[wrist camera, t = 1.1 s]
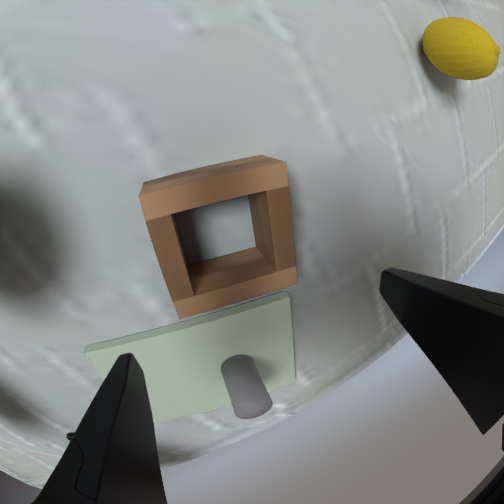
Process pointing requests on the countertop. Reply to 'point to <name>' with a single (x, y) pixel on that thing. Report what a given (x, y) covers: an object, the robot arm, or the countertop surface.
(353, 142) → the countertop surface
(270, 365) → the keeper board
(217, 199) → the link
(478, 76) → the lemon
